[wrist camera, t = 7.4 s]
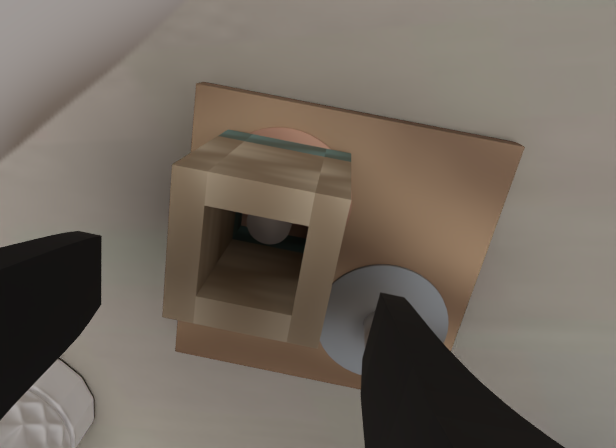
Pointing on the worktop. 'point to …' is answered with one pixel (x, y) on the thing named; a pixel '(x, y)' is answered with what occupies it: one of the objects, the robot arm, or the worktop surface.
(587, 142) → the worktop surface
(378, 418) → the robot arm
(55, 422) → the white cup
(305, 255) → the sleeve
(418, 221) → the pin board
